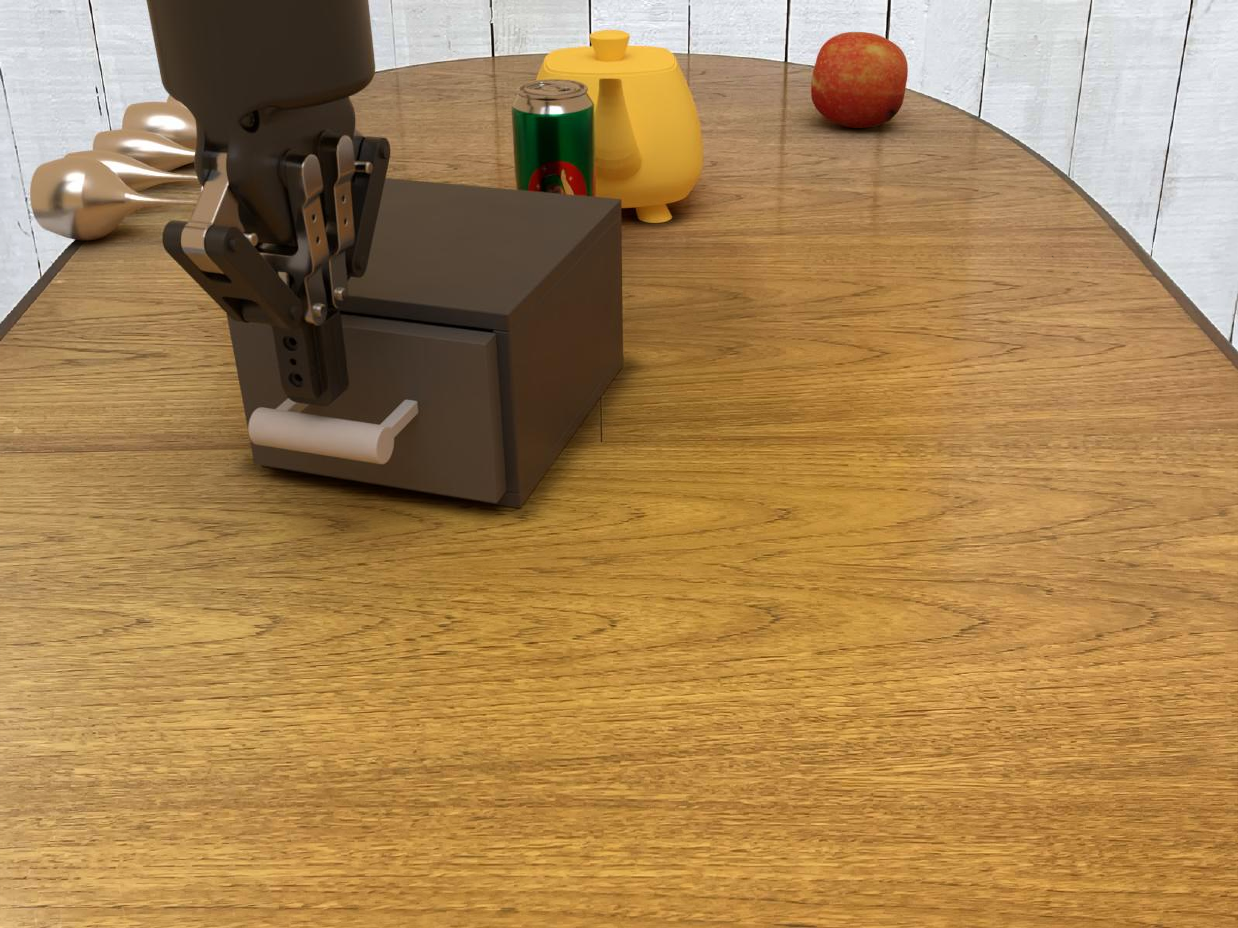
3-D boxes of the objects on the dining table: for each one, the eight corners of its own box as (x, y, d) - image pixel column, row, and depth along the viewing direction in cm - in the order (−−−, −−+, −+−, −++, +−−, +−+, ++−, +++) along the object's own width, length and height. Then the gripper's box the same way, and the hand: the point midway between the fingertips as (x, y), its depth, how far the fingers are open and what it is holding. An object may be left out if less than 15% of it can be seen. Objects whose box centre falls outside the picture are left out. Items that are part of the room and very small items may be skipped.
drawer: (457, 556, 52) (441, 389, 48) (201, 511, 56) (167, 351, 52) (600, 367, 68) (597, 228, 64) (392, 340, 71) (377, 207, 67)
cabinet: (520, 509, 57) (508, 314, 52) (259, 466, 61) (225, 281, 56) (623, 365, 70) (621, 198, 65) (403, 337, 74) (385, 177, 69)
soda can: (548, 254, 85) (540, 73, 79) (612, 267, 83) (609, 82, 77) (505, 279, 81) (493, 91, 75) (570, 293, 79) (564, 101, 73)
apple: (825, 110, 116) (832, 20, 112) (915, 120, 113) (925, 27, 109) (797, 132, 110) (803, 38, 106) (891, 143, 107) (900, 46, 103)
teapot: (515, 258, 85) (505, 70, 78) (527, 168, 102) (519, 8, 96) (714, 254, 85) (719, 66, 78) (692, 165, 102) (695, 5, 96)
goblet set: (323, 148, 110) (176, 142, 111) (316, 81, 107) (166, 76, 108) (206, 257, 86) (19, 249, 87) (193, 174, 83) (0, 167, 84)
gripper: (260, -79, 50) (318, 324, 58) (30, -23, 39) (142, 460, 48) (433, -72, 48) (466, 343, 56) (241, -12, 37) (318, 491, 46)
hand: (317, 396), depth 52 cm, fingers closed
